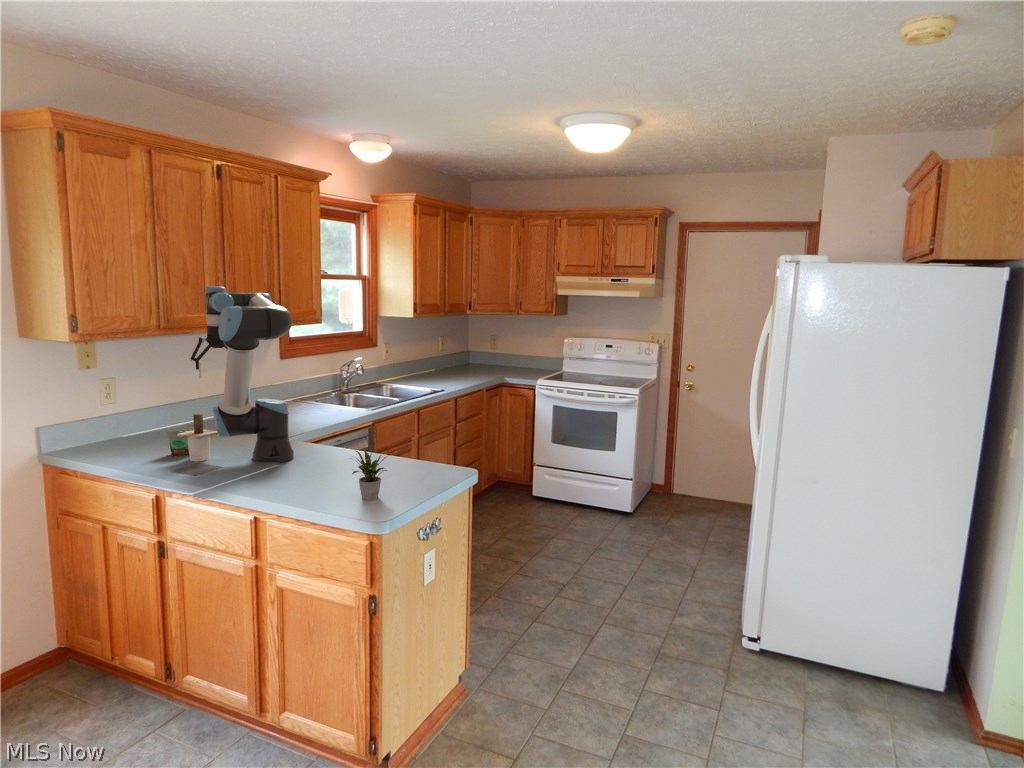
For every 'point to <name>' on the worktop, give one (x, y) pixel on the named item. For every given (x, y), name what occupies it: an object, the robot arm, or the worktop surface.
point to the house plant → (369, 477)
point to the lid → (198, 429)
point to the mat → (196, 469)
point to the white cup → (199, 449)
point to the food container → (178, 443)
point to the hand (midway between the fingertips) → (218, 377)
